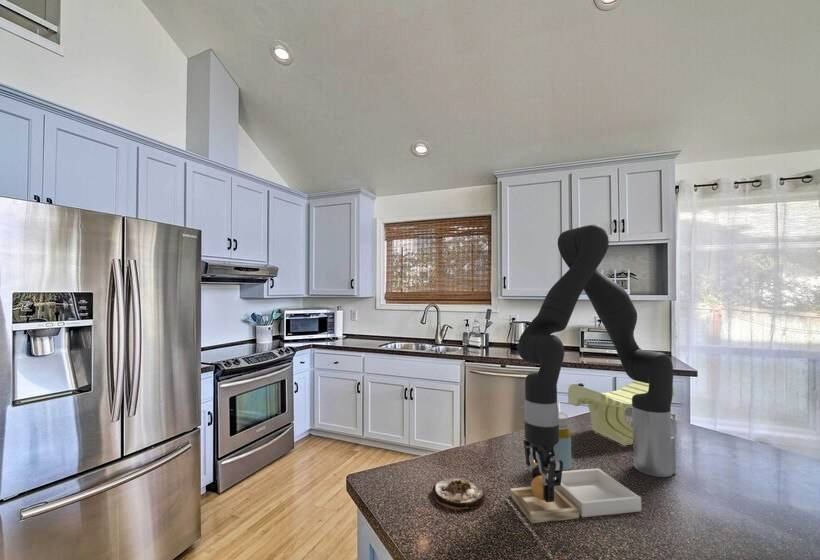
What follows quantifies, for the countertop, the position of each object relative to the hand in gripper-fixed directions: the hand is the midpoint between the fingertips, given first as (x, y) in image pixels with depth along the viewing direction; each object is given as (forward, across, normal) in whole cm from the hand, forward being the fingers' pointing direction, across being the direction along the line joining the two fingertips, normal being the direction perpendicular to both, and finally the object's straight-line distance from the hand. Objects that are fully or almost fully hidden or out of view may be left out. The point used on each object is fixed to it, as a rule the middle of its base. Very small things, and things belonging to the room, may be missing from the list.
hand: (542, 494), depth 86 cm
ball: (+1, 0, 0) cm, 1 cm away
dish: (+3, +2, -14) cm, 14 cm away
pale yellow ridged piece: (+4, +38, -50) cm, 63 cm away
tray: (+3, 0, 0) cm, 3 cm away
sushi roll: (+4, +8, +18) cm, 20 cm away
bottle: (+3, +18, -14) cm, 23 cm away
